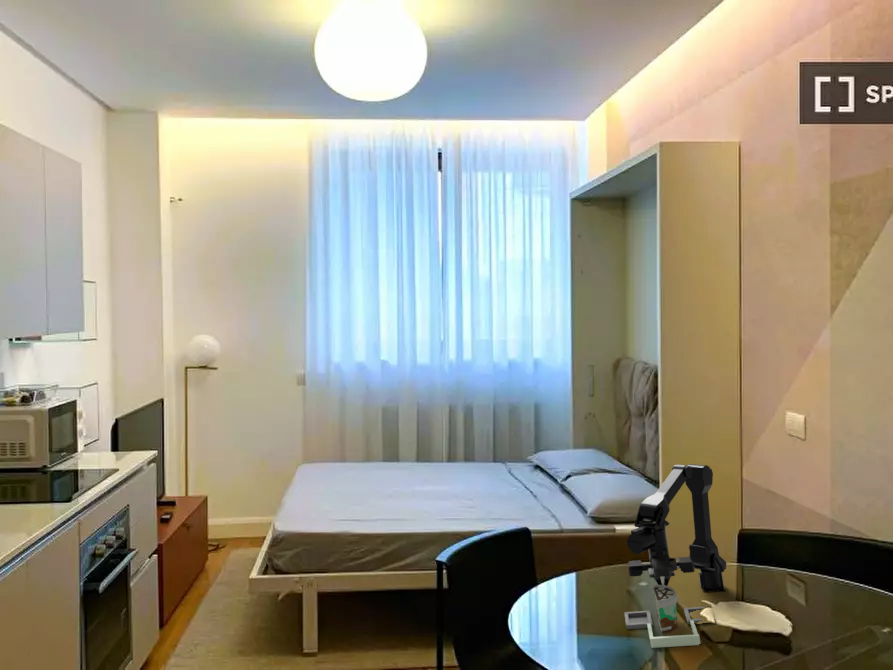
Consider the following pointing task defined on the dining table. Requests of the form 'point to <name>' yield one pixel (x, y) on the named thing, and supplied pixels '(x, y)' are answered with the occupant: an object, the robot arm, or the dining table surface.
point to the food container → (666, 607)
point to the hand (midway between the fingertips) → (664, 594)
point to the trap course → (644, 621)
